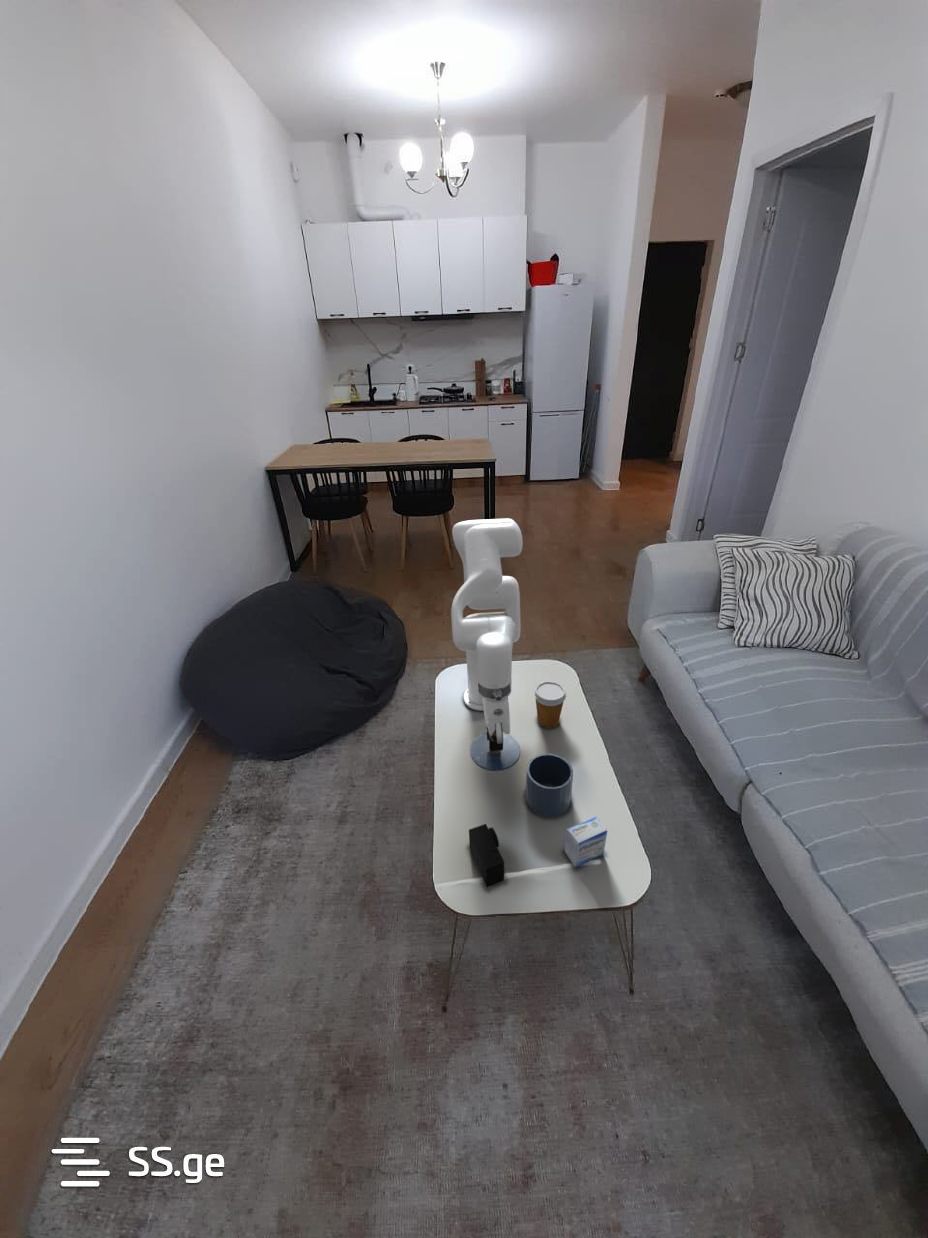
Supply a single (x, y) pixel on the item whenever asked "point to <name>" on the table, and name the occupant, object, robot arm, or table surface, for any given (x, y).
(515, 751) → the lid
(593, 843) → the medicine box
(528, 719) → the table surface
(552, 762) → the cup
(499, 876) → the digital camera
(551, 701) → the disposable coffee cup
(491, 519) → the robot arm
